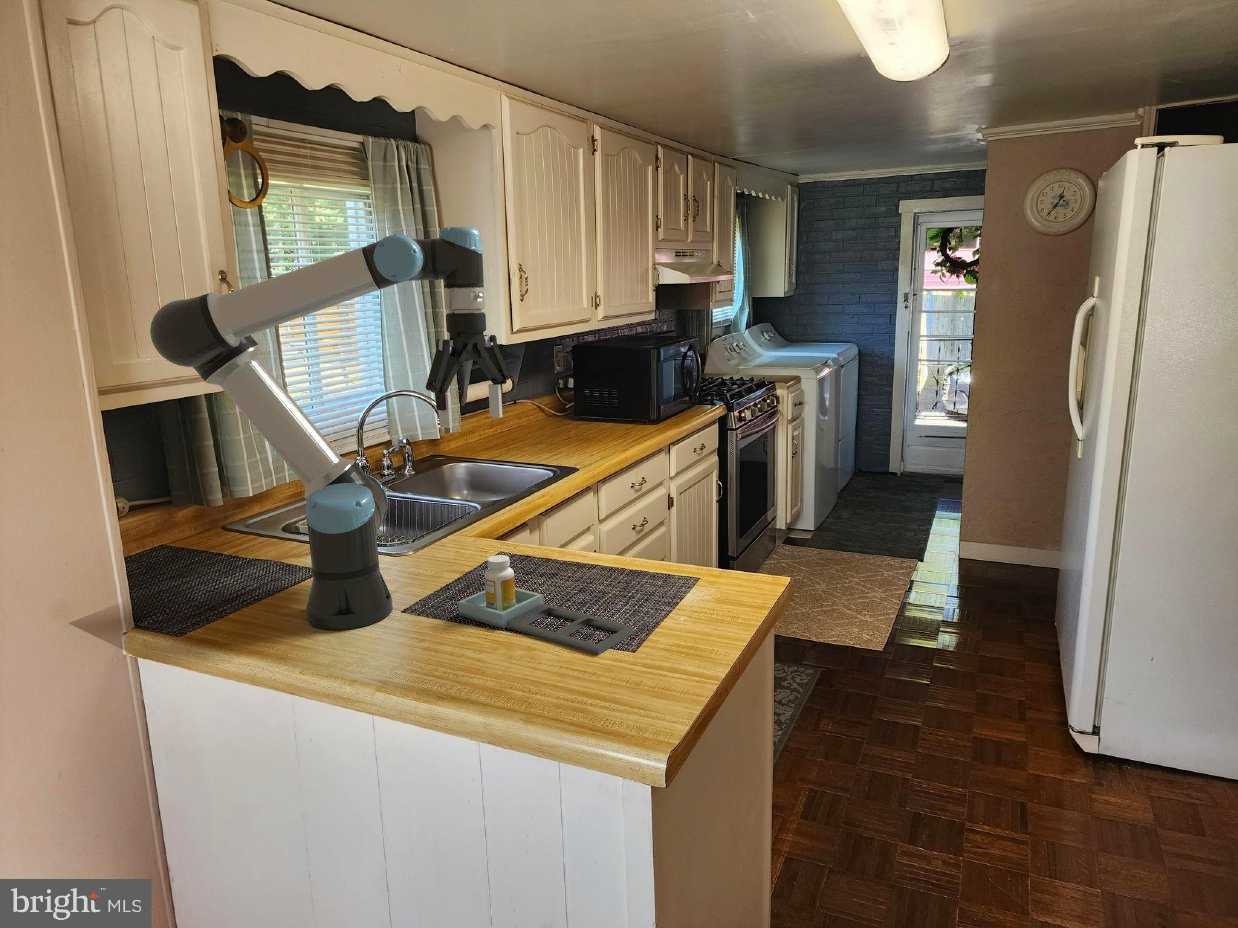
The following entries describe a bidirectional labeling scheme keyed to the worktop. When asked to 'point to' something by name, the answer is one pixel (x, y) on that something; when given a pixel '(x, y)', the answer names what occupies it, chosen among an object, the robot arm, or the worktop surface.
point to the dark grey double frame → (570, 628)
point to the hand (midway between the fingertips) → (472, 422)
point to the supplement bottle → (499, 584)
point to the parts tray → (477, 610)
